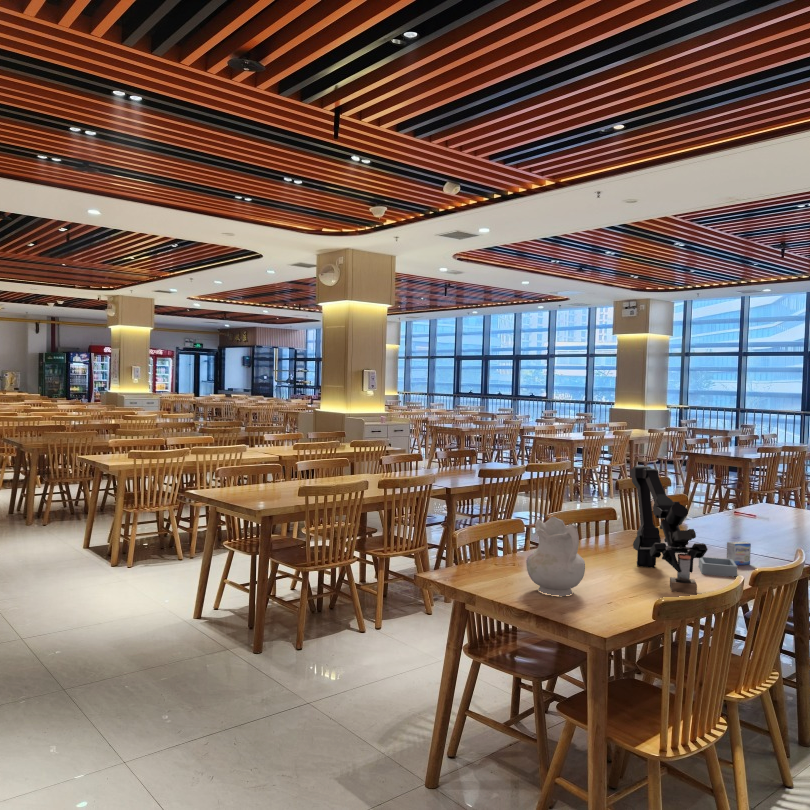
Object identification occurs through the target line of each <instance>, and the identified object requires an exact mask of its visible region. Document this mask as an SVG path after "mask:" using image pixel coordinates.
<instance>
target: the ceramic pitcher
mask: <svg viewBox="0 0 810 810" xmlns="http://www.w3.org/2000/svg"><path fill="white" fill-rule="evenodd" d="M534 525H535V532H536V534H537V537H538V546H537V548H536V549H534V551H532V552H531V553H530V554H528V556H527V558H526V559H525V560H526V561H525V563H526V571H527V575H528V576H529V578H530V579H531V581H532V582H533V583H534V584H535V585H537V586H539V587H538V589H537V591H538V590H539V591H541V592H543V593H547V594H551V595H559V596H566V595H570V594H572V592H573V591H572V589H574V588H575V587H577V586H578V585H579V584H580V583H581V582H582V580H583V579H584V576H585V574H586V562H585V560H584V558H583V557H582V556H581V555H580V554H579V553H578V551H579V544H580V543H579V542H580V538H579V533H578V527H577V525H575V524H574V523H572V524H571V523H569V524H568V525H566V524H565V521H564V519H560V518H557V517H556V516H551V517H548V519H547V520H546V521H545V522H543V521H542V520H540V519H538V518H537V519H536V521H535V524H534Z"/></svg>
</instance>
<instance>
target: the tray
mask: <svg viewBox="0 0 810 810" xmlns="http://www.w3.org/2000/svg"><path fill="white" fill-rule="evenodd" d="M697 565H698V569H699V571H700V572H701V574H702V575H709V576H718V577H720V576H721V577H729V576H732V578H735V577H734V576H737V577H738V565H736V564H735V563H734V561H733V560H732V559H727V558H721V557H711V556H703V557H702V558H698V564H697Z"/></svg>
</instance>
